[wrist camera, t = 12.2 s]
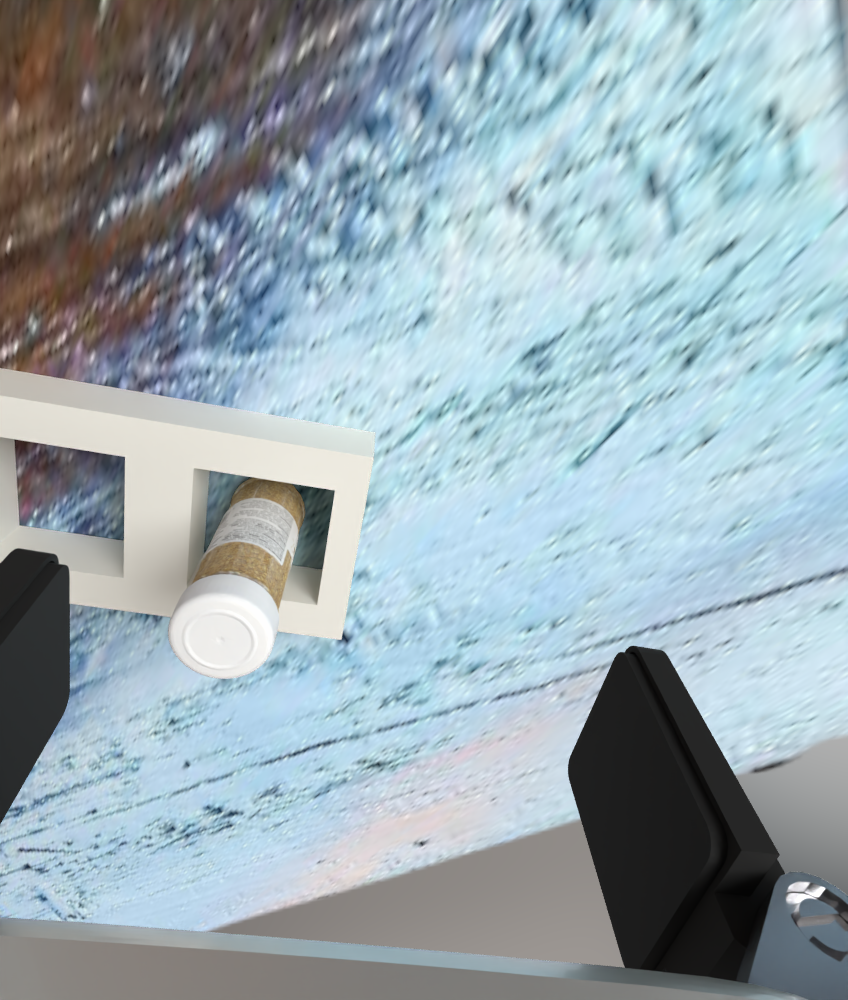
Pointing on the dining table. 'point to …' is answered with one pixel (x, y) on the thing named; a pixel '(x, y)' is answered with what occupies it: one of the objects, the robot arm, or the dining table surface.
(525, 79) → the dining table surface
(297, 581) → the condiment rack
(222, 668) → the sprinkles bottle
